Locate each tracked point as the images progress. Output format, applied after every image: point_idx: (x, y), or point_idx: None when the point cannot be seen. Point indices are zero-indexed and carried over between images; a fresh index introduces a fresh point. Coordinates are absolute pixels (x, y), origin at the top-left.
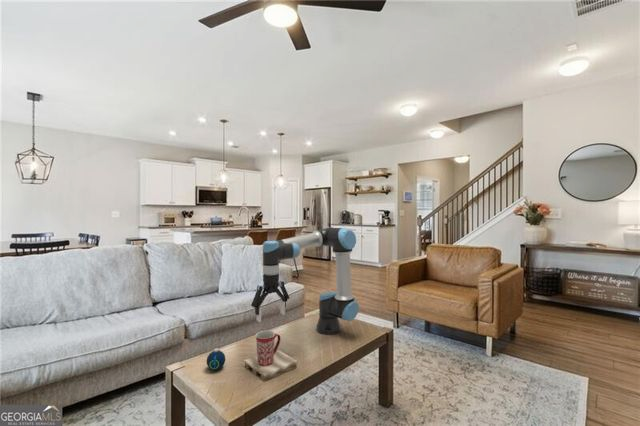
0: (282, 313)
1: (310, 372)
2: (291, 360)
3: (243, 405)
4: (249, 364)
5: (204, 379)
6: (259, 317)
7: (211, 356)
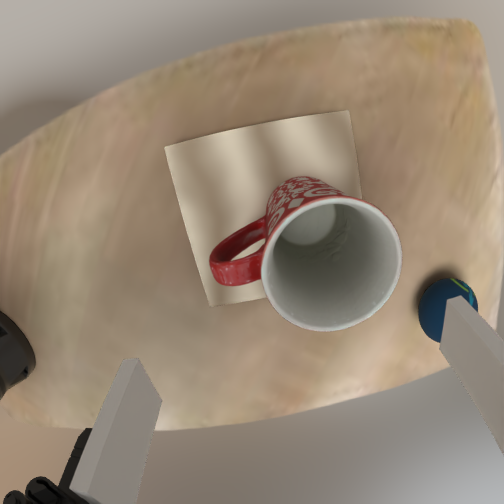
0: (144, 383)
1: (141, 83)
2: (185, 165)
3: (441, 41)
4: None
5: (479, 250)
6: (486, 328)
7: (476, 310)
